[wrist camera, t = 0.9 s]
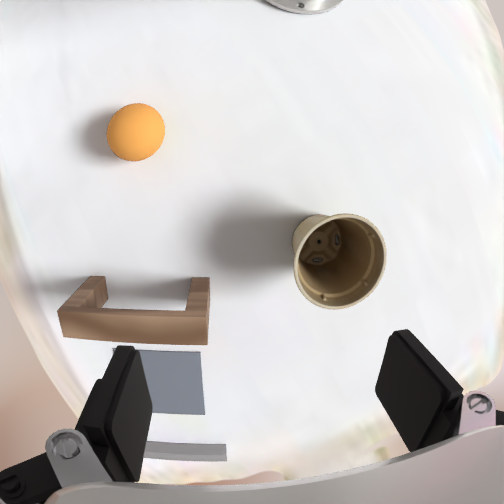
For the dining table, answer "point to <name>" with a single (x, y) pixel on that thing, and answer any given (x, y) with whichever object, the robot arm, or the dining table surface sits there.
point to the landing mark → (174, 381)
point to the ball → (135, 132)
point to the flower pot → (338, 259)
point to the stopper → (185, 451)
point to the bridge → (135, 317)
